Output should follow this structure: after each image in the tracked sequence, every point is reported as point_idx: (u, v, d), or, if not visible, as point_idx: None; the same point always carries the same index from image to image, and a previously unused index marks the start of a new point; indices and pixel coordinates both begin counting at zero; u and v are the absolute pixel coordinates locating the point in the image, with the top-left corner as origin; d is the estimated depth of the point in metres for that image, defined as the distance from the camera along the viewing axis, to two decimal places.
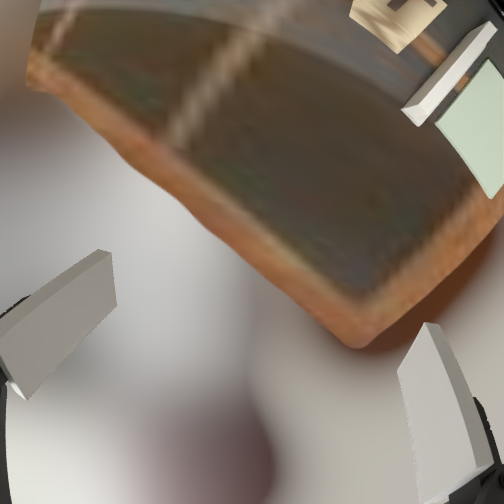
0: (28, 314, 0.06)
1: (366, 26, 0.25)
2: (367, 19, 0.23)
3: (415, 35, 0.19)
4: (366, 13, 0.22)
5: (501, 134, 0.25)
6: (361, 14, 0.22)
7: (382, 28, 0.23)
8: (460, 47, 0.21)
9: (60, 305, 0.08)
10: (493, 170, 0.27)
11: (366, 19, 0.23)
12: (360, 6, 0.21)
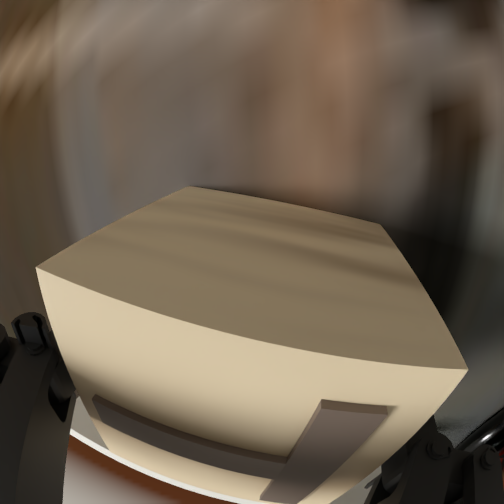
0: None
1: None
2: None
3: None
4: None
5: None
6: None
7: None
8: None
9: None
10: None
11: None
12: None
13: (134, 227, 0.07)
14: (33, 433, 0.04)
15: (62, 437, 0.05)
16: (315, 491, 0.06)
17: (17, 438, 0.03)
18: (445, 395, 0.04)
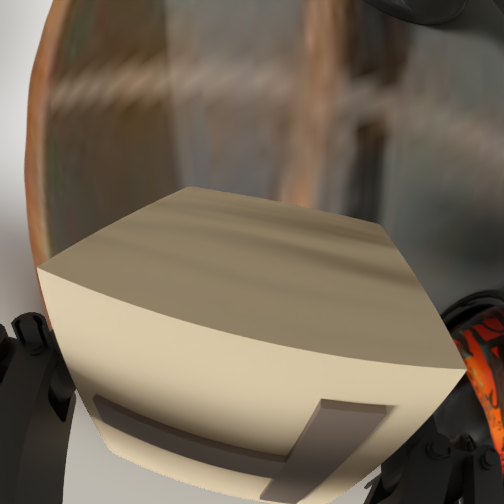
0: None
1: None
2: None
3: None
4: None
5: None
6: None
7: None
8: None
9: None
10: None
11: None
12: None
13: (135, 228, 0.07)
14: (33, 433, 0.04)
15: (62, 436, 0.05)
16: (315, 490, 0.06)
17: (17, 438, 0.03)
18: (444, 395, 0.04)
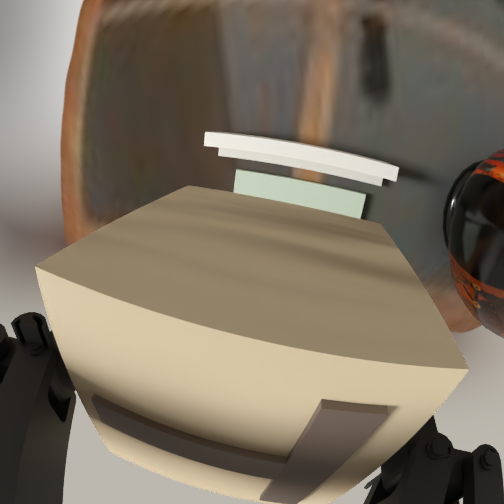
0: None
1: None
2: None
3: None
4: None
5: None
6: None
7: None
8: (337, 150, 0.29)
9: None
10: None
11: None
12: None
13: (134, 226, 0.07)
14: (33, 433, 0.04)
15: (62, 437, 0.05)
16: (315, 491, 0.06)
17: (17, 438, 0.03)
18: (445, 395, 0.04)
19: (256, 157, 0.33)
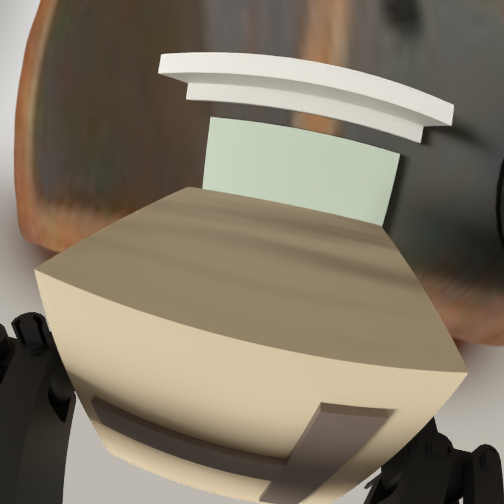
0: None
1: None
2: None
3: None
4: None
5: None
6: None
7: None
8: None
9: None
10: None
11: None
12: None
13: (133, 229, 0.07)
14: (33, 433, 0.04)
15: (62, 436, 0.05)
16: (315, 493, 0.06)
17: (17, 438, 0.03)
18: (444, 398, 0.04)
19: (239, 98, 0.21)
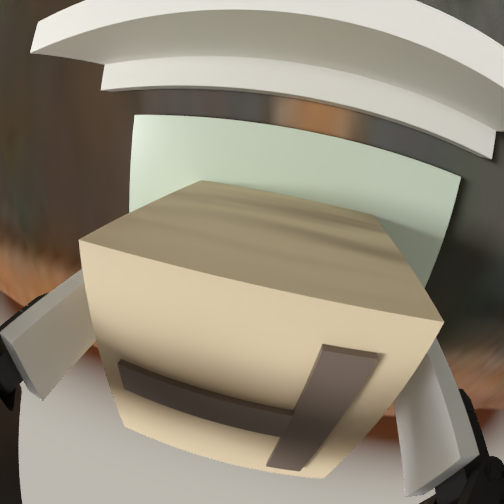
0: (46, 313, 0.07)
1: None
2: None
3: None
4: None
5: None
6: None
7: None
8: None
9: (77, 304, 0.08)
10: None
11: None
12: None
13: (161, 211, 0.08)
14: None
15: (12, 425, 0.05)
16: (318, 454, 0.07)
17: None
18: (426, 346, 0.05)
19: (178, 77, 0.11)
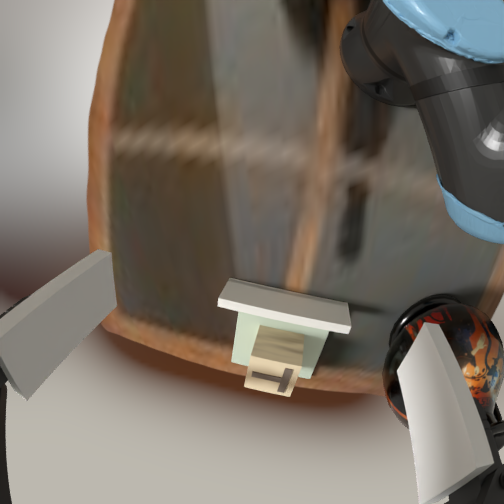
0: (28, 314, 0.06)
1: None
2: None
3: (244, 385, 0.45)
4: None
5: None
6: None
7: None
8: (311, 305, 0.43)
9: (60, 305, 0.08)
10: (248, 355, 0.52)
11: None
12: None
13: (258, 345, 0.44)
14: None
15: None
16: (287, 388, 0.43)
17: None
18: (300, 369, 0.41)
19: None
